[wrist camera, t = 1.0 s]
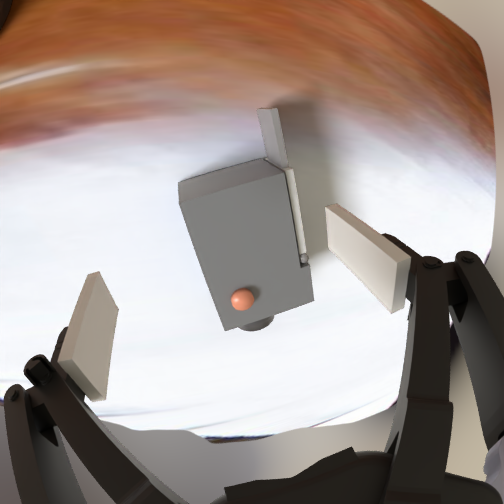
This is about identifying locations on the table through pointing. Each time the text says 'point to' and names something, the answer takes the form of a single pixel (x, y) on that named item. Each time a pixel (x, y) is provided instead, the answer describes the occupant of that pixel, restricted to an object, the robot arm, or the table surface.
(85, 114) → the table surface
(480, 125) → the table surface
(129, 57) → the table surface
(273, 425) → the table surface
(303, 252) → the side door
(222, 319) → the housing
